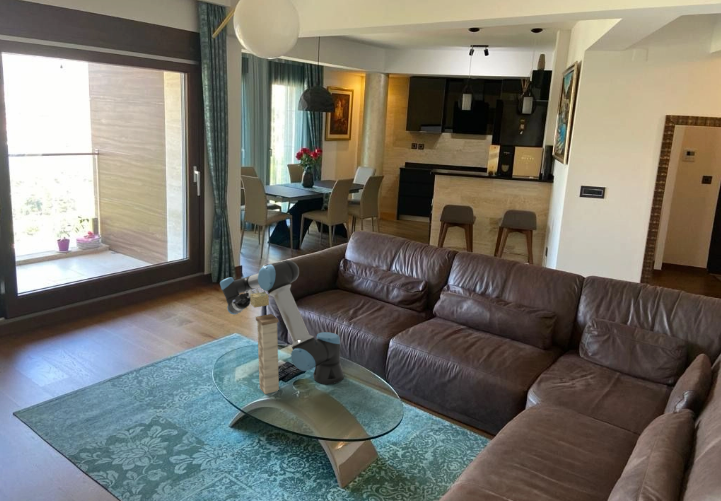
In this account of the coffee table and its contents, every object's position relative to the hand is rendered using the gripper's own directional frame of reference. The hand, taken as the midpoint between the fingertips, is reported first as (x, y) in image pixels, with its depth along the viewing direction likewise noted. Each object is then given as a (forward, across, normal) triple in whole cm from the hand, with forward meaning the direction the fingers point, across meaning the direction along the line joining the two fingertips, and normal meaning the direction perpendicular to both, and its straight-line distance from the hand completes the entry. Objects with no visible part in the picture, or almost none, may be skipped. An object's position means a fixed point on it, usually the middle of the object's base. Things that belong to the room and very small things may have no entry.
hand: (254, 291), depth 264 cm
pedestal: (-9, 0, -46) cm, 47 cm away
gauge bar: (-2, 0, -4) cm, 5 cm away
